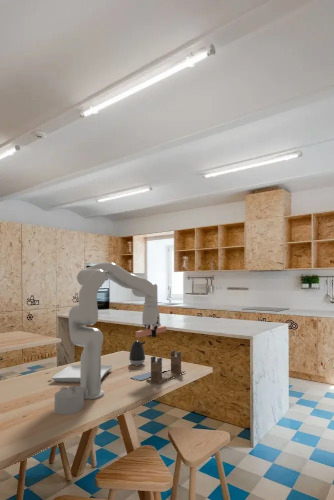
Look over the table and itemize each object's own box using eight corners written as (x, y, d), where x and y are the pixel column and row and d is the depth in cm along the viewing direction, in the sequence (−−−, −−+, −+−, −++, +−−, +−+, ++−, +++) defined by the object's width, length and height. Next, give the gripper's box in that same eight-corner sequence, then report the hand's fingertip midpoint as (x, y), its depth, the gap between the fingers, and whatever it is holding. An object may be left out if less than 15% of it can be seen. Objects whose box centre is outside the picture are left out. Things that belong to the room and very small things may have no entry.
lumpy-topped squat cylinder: (50, 412, 141) (51, 391, 141) (69, 401, 153) (69, 382, 154) (72, 415, 137) (72, 393, 138) (89, 404, 150) (89, 384, 150)
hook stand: (158, 384, 176) (158, 359, 177) (146, 381, 181) (146, 357, 182) (185, 373, 196) (184, 351, 197) (174, 371, 201) (173, 349, 202)
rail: (139, 337, 187) (139, 331, 187) (135, 336, 188) (135, 331, 189) (166, 331, 206) (166, 326, 206) (162, 330, 207) (162, 325, 208)
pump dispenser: (144, 366, 211) (144, 341, 212) (128, 366, 211) (128, 342, 213) (146, 362, 221) (146, 339, 223) (130, 362, 222) (130, 339, 223)
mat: (141, 381, 182) (141, 380, 182) (130, 378, 187) (130, 377, 187) (171, 369, 203) (171, 369, 203) (160, 367, 208) (160, 367, 208)
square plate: (113, 371, 204) (113, 364, 204) (100, 385, 176) (100, 377, 177) (70, 370, 206) (70, 363, 207) (50, 384, 179) (50, 376, 179)
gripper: (136, 304, 200) (136, 336, 199) (158, 305, 190) (158, 339, 189) (144, 303, 206) (145, 334, 205) (166, 304, 196) (166, 336, 195)
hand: (151, 336), depth 197 cm, fingers closed on rail, 3 cm apart
